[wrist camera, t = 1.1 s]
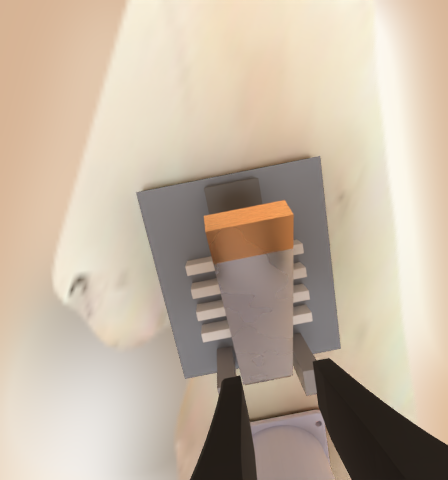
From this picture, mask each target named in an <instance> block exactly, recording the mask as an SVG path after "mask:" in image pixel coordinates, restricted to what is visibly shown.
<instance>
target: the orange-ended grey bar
mask: <svg viewBox="0 0 448 480" xmlns="http://www.w3.org/2000/svg"><path fill="white" fill-rule="evenodd" d="M204 224H205V233H206V237H207V241H208V245H209V249H210V253H211V257H212V261H213V265H214V269H215V273H216V277H217V281H218V285H219V289H220V293H221V297H222V301H223V305H224V309H225V313H226V317H227V321H228V325H229V329H230V333H231V337H232V341H233V345H234V349H235V353H236V357H237V361H238V365H239V369H240V373H241V377H242V381H243V385H244V384H245V385H249V384H254V383H259V382H264V381H269V380H274V379H280V378H285V377H290V376H291V375H293V227H294V214H293V213H292V211H291V209H290V208H289V206H288V205H287V203H286V201H285V200H282V201H277V202H272V203H267V204H262V205H257V206H252V207H247V208H242V209H237V210H231V211H226V212H221V213H216V214H211V215H206V216H204Z"/></svg>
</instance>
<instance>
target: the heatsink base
mask: <svg viewBox="0 0 448 480" xmlns="http://www.w3.org/2000/svg"><path fill="white" fill-rule="evenodd" d="M136 194H137V198H138V201H139V205H140V209H141V213H142V217H143V221H144V224H145V228H146V232H147V236H148V240H149V243H150V247H151V251H152V255H153V259H154V262H155V266H156V270H157V274H158V278H159V281H160V285H161V289H162V293H163V297H164V301H165V304H166V308H167V312H168V316H169V320H170V323H171V327H172V331H173V335H174V339H175V342H176V346H177V350H178V354H179V358H180V361H181V365H182V369H183V373H184V376H185V379H187V378H192V377H197V376H202V375H207V374H212V373H217V389H218V393H219V394H220V389H221V382H222V381H223V379H225V378H230V377H235V376H236V369H238V368H239V365H238V361H237V357H236V353H235V349H234V345H233V341H232V337H231V333H230V329H229V325H228V321H227V317H226V313H225V309H224V305H223V301H222V297H221V293H220V289H219V285H218V281H217V277H216V273H215V269H214V265H213V261H212V257H211V253H210V249H209V245H208V241H207V237H206V233H205V224H204V216H206V215H211V214H216V213H221V212H226V211H231V210H237V209H242V208H247V207H252V206H257V205H262V204H267V203H272V202H277V201H282V200H285V201H286V203H287V205H288V206H289V208H290V209H291V211H292V213H293V214H294V227H293V366H294V368H295V370H296V373H297V375H298V377H299V380H300V382H301V384H302V387H303V389H304V391H305V394H306V396H308V395H313V394H317V391H316V383H315V376H314V368H313V361H316V359H315V357H314V356H313V354H315V353H321V352H326V351H331V350H336V349H341V347H340V338H339V328H338V319H337V310H336V300H335V291H334V282H333V272H332V263H331V254H330V244H329V235H328V226H327V216H326V207H325V198H324V188H323V179H322V170H321V160H320V156H318V157H313V158H308V159H303V160H298V161H293V162H288V163H283V164H278V165H272V166H267V167H262V168H257V169H252V170H247V171H242V172H237V173H232V174H227V175H222V176H217V177H212V178H207V179H202V180H197V181H192V182H187V183H181V184H176V185H171V186H166V187H161V188H156V189H151V190H146V191H141V192H136Z"/></svg>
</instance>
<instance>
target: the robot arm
mask: <svg viewBox="0 0 448 480" xmlns="http://www.w3.org/2000/svg"><path fill="white" fill-rule="evenodd" d="M313 368H314V376H315V383H316V391H317V398H318V405H319V409H320V410H311V411H306V412H301V413H296V414H290V415H285V416H280V417H275V418H270V419H265V420H259V421H254V422H250V420H249V415H248V410H247V406H246V401H245V396H244V391H243V386H242V382H241V377H240V376H235V377H230V378H225V379H223V381H222V382H221V389H220V394H219V398H218V402H217V406H216V410H215V413H214V416H213V420H212V423H211V426H210V429H209V432H208V435H207V438H206V441H205V443H204V446H203V449H202V451H201V454H200V457H199V459H198V462H197V465H196V467H195V469H194V472H193V474H192V476H191V479H190V480H335V477H334V475H333V472H332V470H331V467H330V460H329V452H328V444H327V437H326V429H325V425H326V427H327V430H328V432H329V435H330V437H331V440H332V442H333V444H334V446H335V448H336V450H337V452H338V454H339V456H340V458H341V460H342V462H343V464H344V465H345V467H346V469H347V471H348V473H349V475H350V477H351V479H352V480H448V445H446V444H445V443H443V442H441V441H440V440H438V439H437V438H435V437H433V436H432V435H430V434H428V433H427V432H426V431H424V430H423V429H421V428H420V427H418V426H417V425H415V424H414V423H412V422H411V421H409V420H408V419H407V418H405V417H404V416H402V415H401V414H399V413H398V412H397V411H395V410H394V409H392V408H391V407H390V406H388V405H387V404H386V403H384V402H383V401H382V400H380V399H379V398H378V397H376V396H375V395H374V394H373V393H371V392H370V391H369V390H367V389H366V388H365V387H364V386H362V385H361V384H360V383H359V382H357V381H356V380H355V379H354V378H352V377H351V376H350V375H349V374H348V373H346V372H345V371H344V370H343V369H342V368H340V367H339V366H338V365H337V364H336V363H335V362H333V361H332V360H331V359H329V358H328V359H323V360H318V361H313ZM317 421H318V422H317Z"/></svg>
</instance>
